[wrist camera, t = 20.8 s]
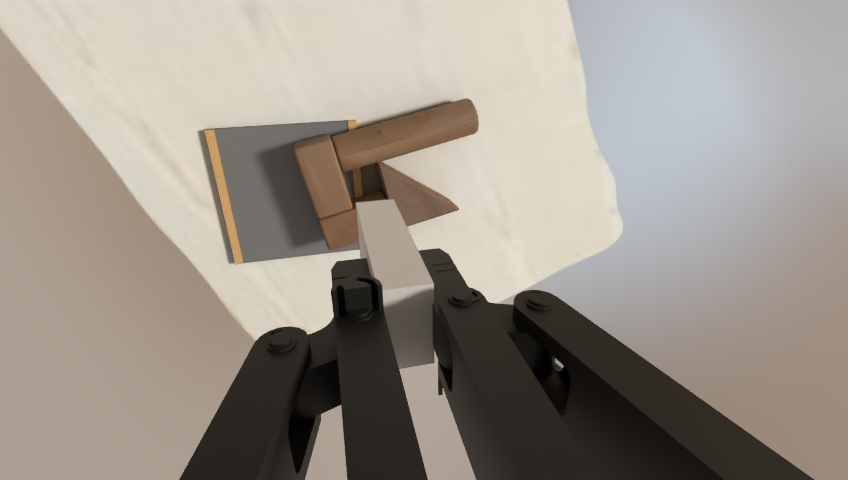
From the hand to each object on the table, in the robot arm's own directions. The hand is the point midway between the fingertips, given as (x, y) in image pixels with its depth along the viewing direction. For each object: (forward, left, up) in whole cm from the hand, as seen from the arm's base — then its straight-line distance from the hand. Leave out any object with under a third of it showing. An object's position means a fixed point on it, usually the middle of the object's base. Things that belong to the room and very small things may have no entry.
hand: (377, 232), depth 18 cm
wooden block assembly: (+7, -4, -26) cm, 27 cm away
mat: (+7, -5, -29) cm, 30 cm away
